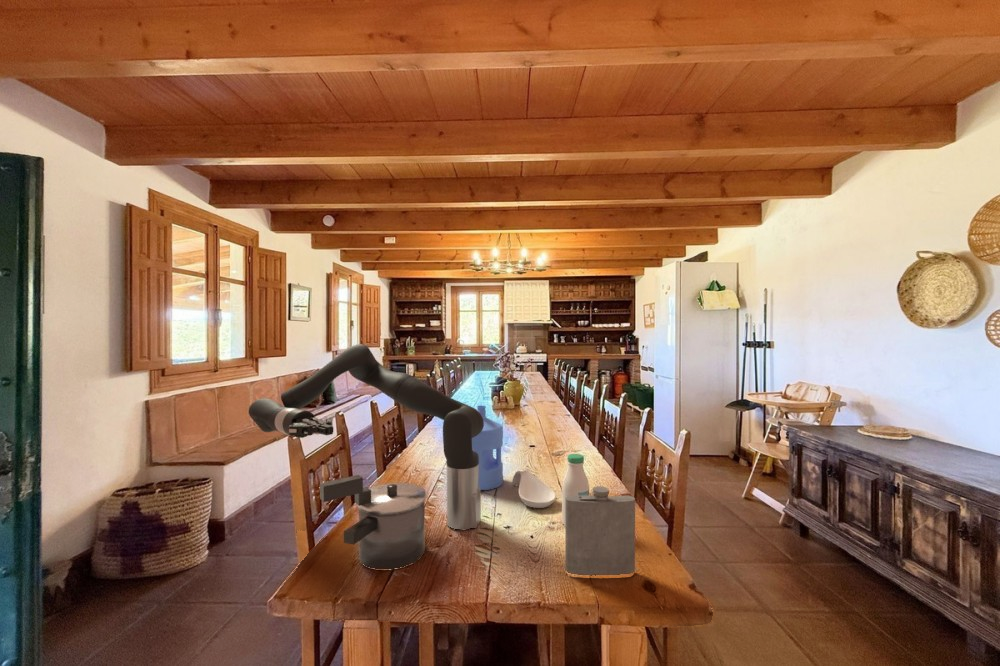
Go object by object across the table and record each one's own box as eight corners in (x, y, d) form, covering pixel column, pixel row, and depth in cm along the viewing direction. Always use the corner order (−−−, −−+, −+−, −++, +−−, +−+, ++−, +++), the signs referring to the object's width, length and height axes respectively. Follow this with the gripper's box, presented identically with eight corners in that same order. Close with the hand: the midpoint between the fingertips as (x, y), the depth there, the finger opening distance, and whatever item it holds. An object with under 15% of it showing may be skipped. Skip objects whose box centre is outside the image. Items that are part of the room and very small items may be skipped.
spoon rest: (562, 510, 135) (562, 487, 135) (527, 515, 131) (527, 492, 131) (532, 483, 157) (532, 464, 157) (501, 487, 153) (501, 467, 153)
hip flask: (632, 569, 101) (632, 484, 101) (638, 579, 97) (638, 491, 97) (564, 569, 101) (564, 484, 101) (567, 580, 97) (567, 491, 97)
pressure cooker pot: (385, 533, 119) (384, 486, 119) (436, 543, 114) (436, 494, 113) (320, 581, 97) (319, 523, 97) (380, 597, 91) (379, 536, 91)
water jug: (453, 489, 151) (453, 409, 151) (467, 474, 166) (467, 401, 166) (497, 493, 147) (497, 411, 147) (507, 477, 163) (507, 403, 162)
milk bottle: (568, 532, 119) (568, 460, 119) (557, 520, 127) (557, 452, 126) (594, 529, 121) (594, 458, 121) (581, 517, 129) (581, 450, 128)
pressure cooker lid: (406, 483, 120) (406, 455, 120) (438, 502, 107) (437, 470, 107) (311, 507, 104) (311, 475, 104) (334, 533, 91) (334, 496, 91)
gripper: (271, 412, 117) (306, 421, 107) (316, 405, 128) (352, 412, 118) (271, 440, 117) (306, 451, 107) (316, 430, 128) (352, 439, 118)
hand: (330, 430), depth 112 cm, fingers closed
